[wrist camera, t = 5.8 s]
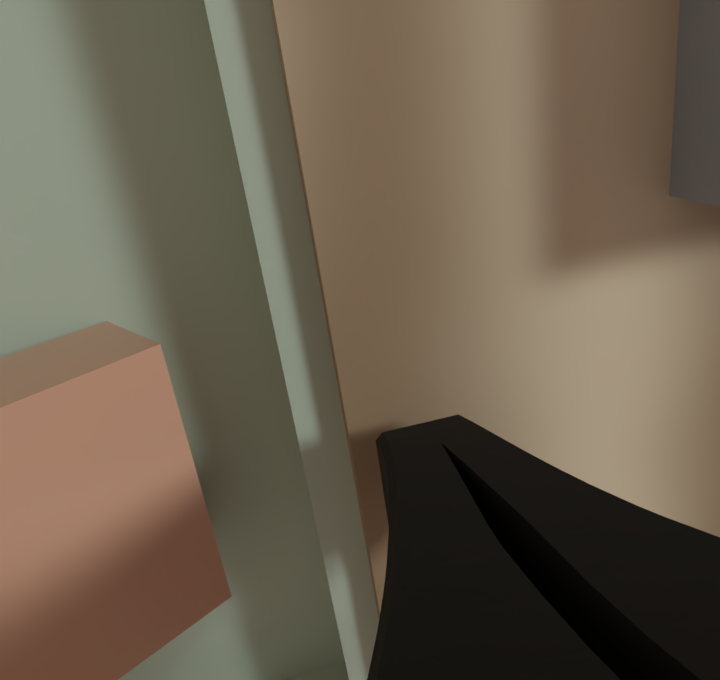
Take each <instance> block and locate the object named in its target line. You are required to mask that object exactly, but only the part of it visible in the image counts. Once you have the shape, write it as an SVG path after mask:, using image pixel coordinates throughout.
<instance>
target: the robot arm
mask: <svg viewBox="0 0 720 680" xmlns="http://www.w3.org/2000/svg"><path fill="white" fill-rule="evenodd" d="M376 446H377V453H378V459H379V466H380V472H381V479H382V486H383V492H384V499H385V505H386V512H387V518H388V525H389V534H388V550H387V565H386V575H385V583H384V591H383V599H382V605H381V611H380V618H379V624H378V630H377V635H376V640H375V645H374V649H373V654H372V659H371V664H370V669H369V674H368V678H367V680H720V537H718V536H715V535H712V534H709V533H707V532H704V531H701V530H699V529H696V528H693V527H691V526H688V525H685V524H683V523H680V522H677V521H675V520H672V519H669V518H666V517H664V516H661V515H659V514H656V513H654V512H651V511H649V510H647V509H644V508H642V507H639V506H637V505H635V504H632V503H630V502H628V501H626V500H623V499H621V498H619V497H617V496H615V495H612V494H610V493H608V492H606V491H604V490H601V489H599V488H597V487H595V486H593V485H590V484H588V483H586V482H584V481H582V480H580V479H578V478H576V477H574V476H572V475H570V474H568V473H566V472H564V471H562V470H560V469H558V468H556V467H554V466H552V465H550V464H548V463H547V462H545V461H543V460H541V459H539V458H537V457H535V456H533V455H532V454H530V453H528V452H526V451H524V450H522V449H520V448H519V447H517V446H515V445H513V444H511V443H510V442H508V441H506V440H504V439H502V438H501V437H499V436H497V435H495V434H494V433H492V432H490V431H488V430H486V429H485V428H483V427H481V426H479V425H478V424H476V423H474V422H472V421H470V420H468V419H466V418H464V417H462V416H460V415H454V416H450V417H445V418H441V419H437V420H433V421H428V422H424V423H420V424H416V425H411V426H407V427H403V428H399V429H394V430H390V431H386V432H382V433H381V434H380V436H379V437H378V438H377V440H376Z"/></svg>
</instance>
